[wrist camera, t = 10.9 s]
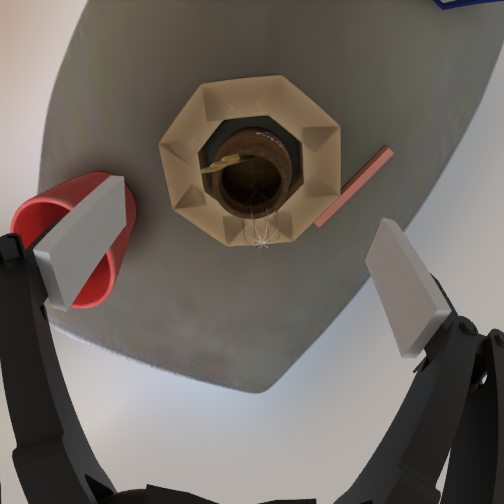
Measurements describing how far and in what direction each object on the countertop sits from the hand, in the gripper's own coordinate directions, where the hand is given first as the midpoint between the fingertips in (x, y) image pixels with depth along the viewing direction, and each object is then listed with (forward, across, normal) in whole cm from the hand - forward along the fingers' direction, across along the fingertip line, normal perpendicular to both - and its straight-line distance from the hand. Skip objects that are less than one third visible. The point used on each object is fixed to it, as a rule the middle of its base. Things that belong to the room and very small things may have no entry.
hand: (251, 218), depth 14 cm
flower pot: (+12, -15, -7) cm, 21 cm away
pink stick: (+12, +9, -1) cm, 15 cm away
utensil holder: (+13, 0, -1) cm, 13 cm away
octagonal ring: (+12, 0, -1) cm, 13 cm away
